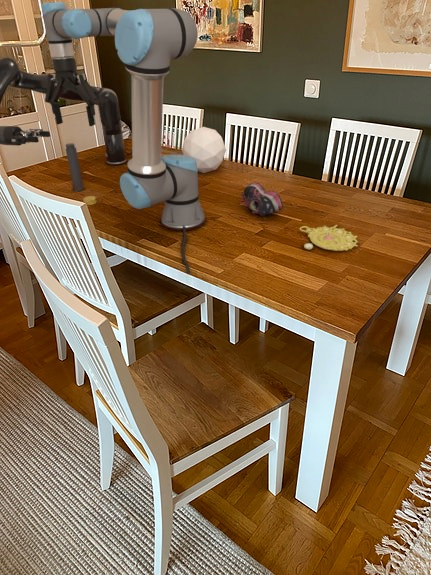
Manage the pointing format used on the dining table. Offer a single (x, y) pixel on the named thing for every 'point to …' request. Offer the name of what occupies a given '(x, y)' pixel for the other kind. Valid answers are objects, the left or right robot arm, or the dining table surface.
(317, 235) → the decorative object
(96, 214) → the dining table surface
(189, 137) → the sphere
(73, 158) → the dark grey cylinder
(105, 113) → the left robot arm
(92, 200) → the lid
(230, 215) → the dining table surface
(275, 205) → the athletic shoe
